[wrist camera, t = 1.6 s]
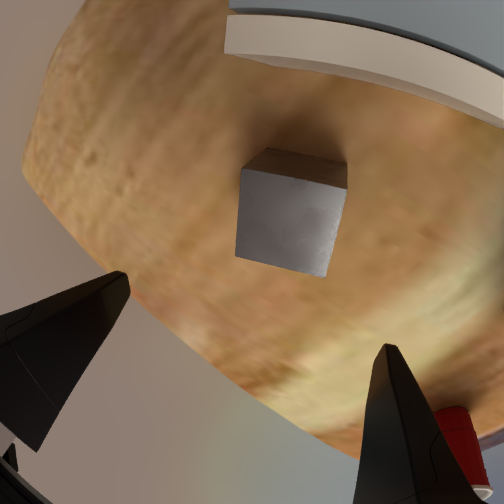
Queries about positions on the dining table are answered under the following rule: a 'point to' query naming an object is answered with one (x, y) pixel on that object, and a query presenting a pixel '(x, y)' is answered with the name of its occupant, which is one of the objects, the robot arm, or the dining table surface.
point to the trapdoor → (410, 21)
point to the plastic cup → (465, 447)
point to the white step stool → (369, 60)
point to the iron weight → (290, 210)
